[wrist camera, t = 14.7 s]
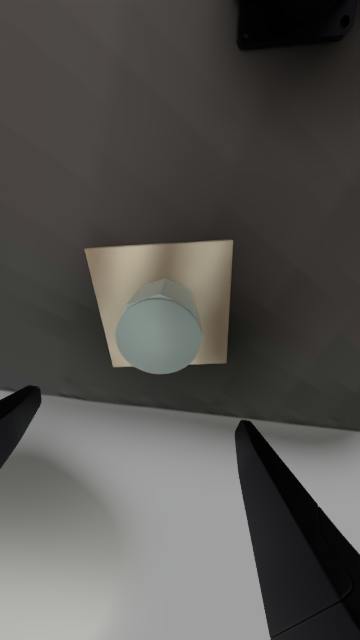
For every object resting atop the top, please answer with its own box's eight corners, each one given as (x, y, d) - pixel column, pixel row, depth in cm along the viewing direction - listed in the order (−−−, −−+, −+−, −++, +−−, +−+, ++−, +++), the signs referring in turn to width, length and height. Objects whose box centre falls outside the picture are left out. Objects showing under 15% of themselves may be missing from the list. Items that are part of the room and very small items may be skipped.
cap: (179, 349, 20) (178, 384, 16) (123, 325, 19) (104, 356, 15) (208, 298, 18) (217, 323, 14) (146, 268, 17) (132, 284, 12)
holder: (230, 239, 17) (239, 242, 14) (224, 356, 22) (230, 376, 19) (90, 247, 17) (72, 251, 15) (116, 360, 23) (106, 380, 20)
